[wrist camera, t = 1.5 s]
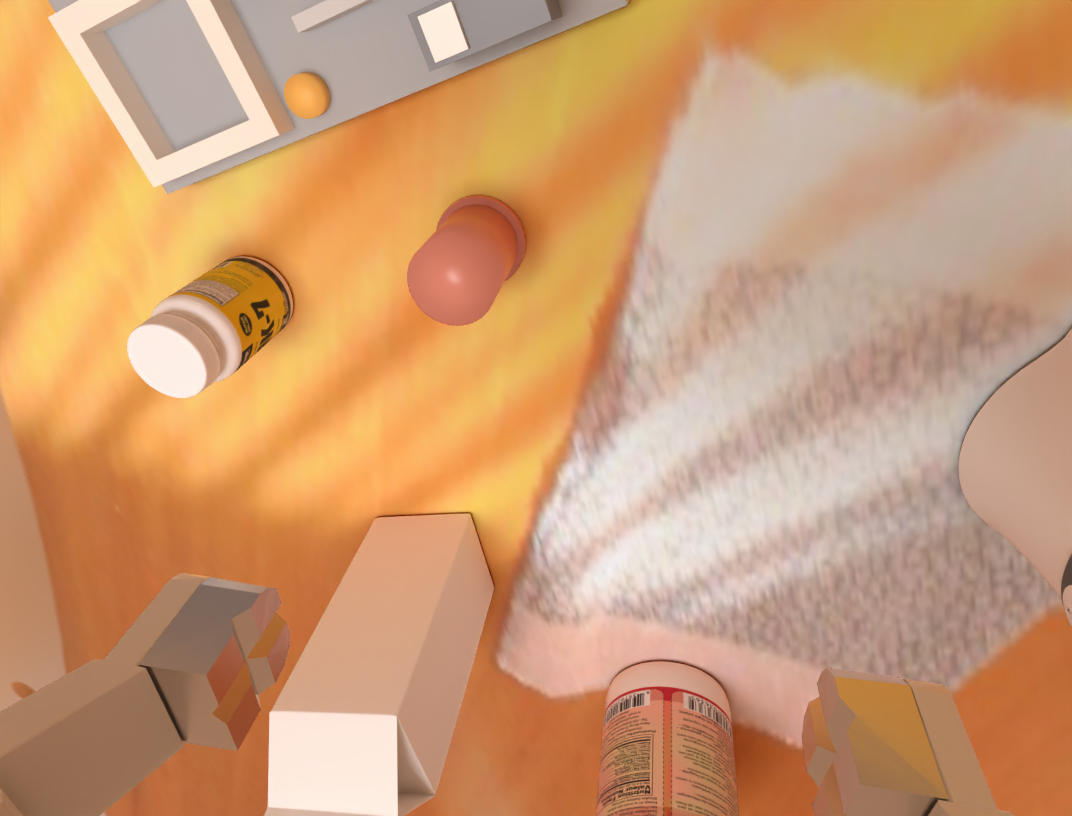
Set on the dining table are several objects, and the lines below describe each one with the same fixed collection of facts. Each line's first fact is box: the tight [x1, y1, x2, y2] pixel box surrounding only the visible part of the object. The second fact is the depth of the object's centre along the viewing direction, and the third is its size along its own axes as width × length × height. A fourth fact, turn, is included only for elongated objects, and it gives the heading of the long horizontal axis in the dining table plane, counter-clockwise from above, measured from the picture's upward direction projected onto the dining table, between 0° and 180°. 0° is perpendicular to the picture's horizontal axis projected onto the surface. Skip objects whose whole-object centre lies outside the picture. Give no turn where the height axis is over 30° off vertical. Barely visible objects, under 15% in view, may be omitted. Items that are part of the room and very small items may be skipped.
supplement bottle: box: [127, 256, 293, 398], centre depth 35 cm, size 5×5×8 cm
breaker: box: [408, 0, 562, 72], centre depth 26 cm, size 5×2×3 cm, turn 110°
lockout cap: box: [407, 195, 526, 326], centre depth 32 cm, size 5×5×6 cm
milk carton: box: [264, 513, 494, 816], centre depth 40 cm, size 7×7×19 cm
